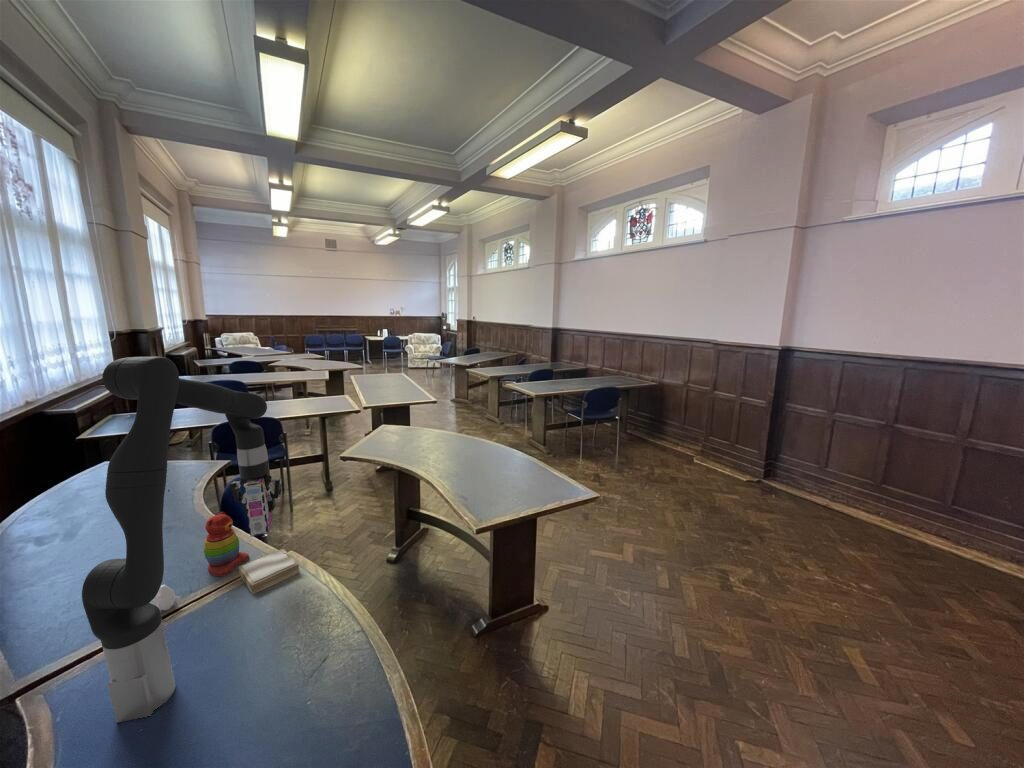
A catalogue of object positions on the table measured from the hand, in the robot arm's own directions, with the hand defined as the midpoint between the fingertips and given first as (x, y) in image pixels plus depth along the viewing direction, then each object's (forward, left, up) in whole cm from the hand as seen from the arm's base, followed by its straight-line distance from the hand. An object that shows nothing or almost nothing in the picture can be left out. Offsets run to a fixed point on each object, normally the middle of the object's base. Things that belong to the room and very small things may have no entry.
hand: (260, 511), depth 123 cm
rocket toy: (-10, +23, -22) cm, 33 cm away
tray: (0, 0, -22) cm, 22 cm away
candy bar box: (0, 0, -5) cm, 5 cm away
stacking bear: (+8, +16, -22) cm, 28 cm away
